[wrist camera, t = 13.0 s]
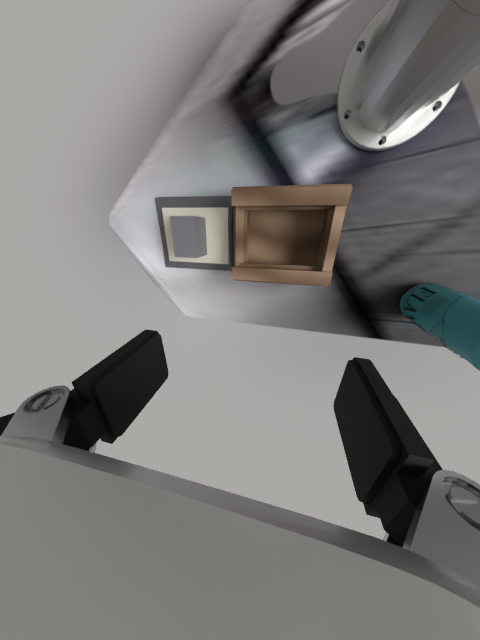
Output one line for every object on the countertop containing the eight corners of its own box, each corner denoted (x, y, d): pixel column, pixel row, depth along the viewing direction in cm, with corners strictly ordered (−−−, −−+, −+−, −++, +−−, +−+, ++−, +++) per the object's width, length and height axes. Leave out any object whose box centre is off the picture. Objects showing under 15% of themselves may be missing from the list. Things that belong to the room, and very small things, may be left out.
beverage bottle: (411, 273, 30) (586, 335, 13) (452, 288, 30) (690, 373, 12) (384, 308, 33) (494, 396, 16) (420, 321, 33) (575, 428, 15)
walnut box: (244, 196, 31) (231, 186, 23) (336, 194, 28) (353, 182, 21) (242, 270, 36) (232, 281, 29) (319, 275, 33) (329, 287, 26)
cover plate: (164, 208, 33) (144, 204, 29) (229, 208, 31) (218, 204, 26) (172, 260, 37) (155, 264, 33) (229, 263, 35) (220, 268, 30)
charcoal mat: (157, 198, 34) (155, 197, 33) (232, 196, 31) (231, 196, 30) (168, 266, 39) (166, 266, 38) (232, 270, 36) (232, 270, 36)
